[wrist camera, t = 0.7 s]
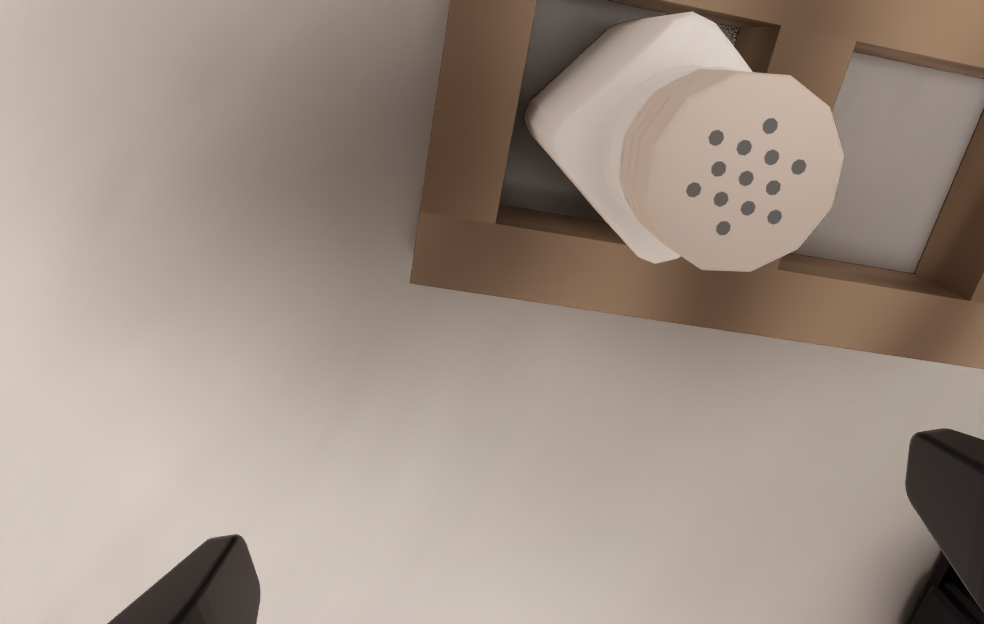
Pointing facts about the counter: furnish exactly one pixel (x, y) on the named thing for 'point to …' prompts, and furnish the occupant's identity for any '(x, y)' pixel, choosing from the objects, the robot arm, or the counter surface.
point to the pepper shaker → (690, 145)
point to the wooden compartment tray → (678, 283)
